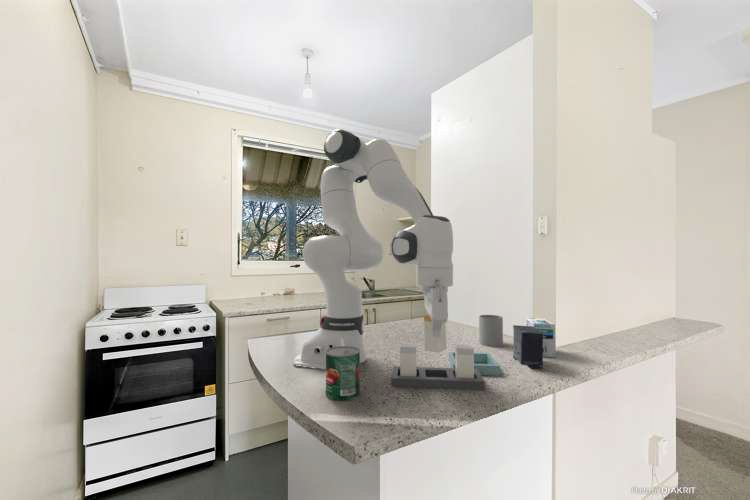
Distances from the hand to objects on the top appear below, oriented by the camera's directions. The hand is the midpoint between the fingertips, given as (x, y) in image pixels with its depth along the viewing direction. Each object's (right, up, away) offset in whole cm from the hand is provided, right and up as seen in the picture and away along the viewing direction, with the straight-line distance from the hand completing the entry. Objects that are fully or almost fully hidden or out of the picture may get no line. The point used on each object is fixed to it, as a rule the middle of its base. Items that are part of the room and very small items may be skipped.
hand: (434, 332), depth 87 cm
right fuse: (+7, -12, -1) cm, 14 cm away
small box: (+31, -14, +17) cm, 38 cm away
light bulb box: (+41, -14, +28) cm, 51 cm away
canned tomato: (-23, -13, -8) cm, 28 cm away
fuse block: (0, -13, 0) cm, 13 cm away
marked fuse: (0, -4, 0) cm, 4 cm away
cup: (+28, -14, +40) cm, 51 cm away
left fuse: (-7, -12, 0) cm, 14 cm away
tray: (+13, -13, +10) cm, 21 cm away
